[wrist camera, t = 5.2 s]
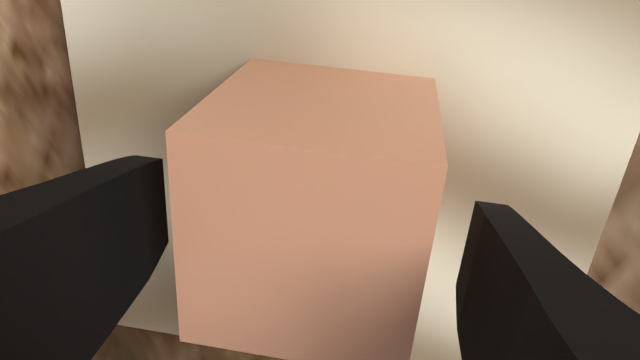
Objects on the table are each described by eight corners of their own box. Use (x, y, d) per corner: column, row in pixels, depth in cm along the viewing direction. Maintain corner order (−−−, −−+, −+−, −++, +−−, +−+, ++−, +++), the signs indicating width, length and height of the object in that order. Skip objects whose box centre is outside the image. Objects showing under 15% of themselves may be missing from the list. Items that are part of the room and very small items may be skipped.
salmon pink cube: (407, 237, 14) (405, 380, 10) (250, 214, 15) (179, 341, 10) (434, 78, 12) (447, 167, 8) (251, 58, 13) (165, 131, 8)
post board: (533, 368, 17) (567, 493, 13) (125, 300, 18) (53, 395, 15) (706, -133, 11) (865, -163, 7) (66, -173, 12) (-86, -215, 8)
